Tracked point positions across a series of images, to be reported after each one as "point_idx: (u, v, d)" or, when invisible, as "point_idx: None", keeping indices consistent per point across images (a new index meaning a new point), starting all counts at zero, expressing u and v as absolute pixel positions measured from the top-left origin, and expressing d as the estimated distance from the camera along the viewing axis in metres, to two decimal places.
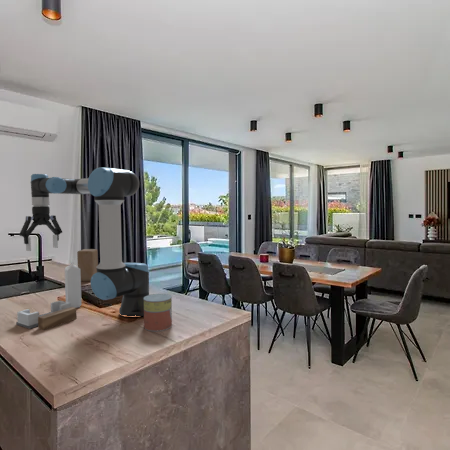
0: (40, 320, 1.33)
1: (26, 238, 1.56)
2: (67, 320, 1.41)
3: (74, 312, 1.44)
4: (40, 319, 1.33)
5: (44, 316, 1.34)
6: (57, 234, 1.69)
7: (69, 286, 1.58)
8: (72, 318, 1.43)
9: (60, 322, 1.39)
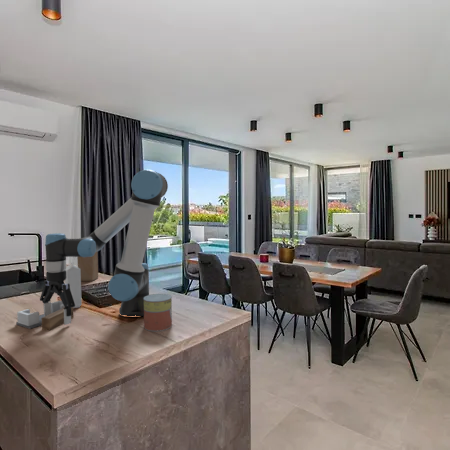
0: (45, 321, 1.32)
1: (44, 304, 1.43)
2: None
3: (71, 311, 1.45)
4: (45, 320, 1.32)
5: (48, 317, 1.33)
6: None
7: None
8: None
9: (61, 322, 1.39)
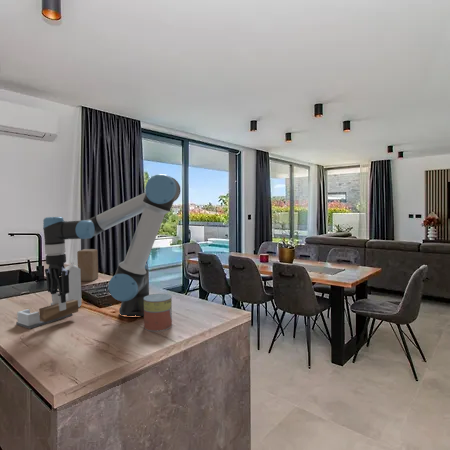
0: (41, 312, 1.33)
1: (52, 295, 1.40)
2: (69, 312, 1.41)
3: (75, 304, 1.44)
4: (41, 311, 1.33)
5: (45, 308, 1.34)
6: None
7: (69, 286, 1.58)
8: (74, 310, 1.43)
9: (61, 314, 1.38)
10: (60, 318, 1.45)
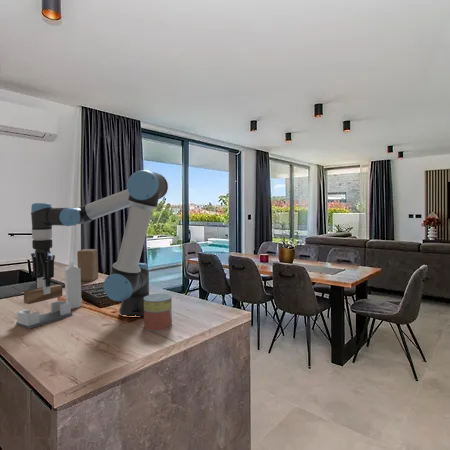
0: (26, 294, 1.37)
1: None
2: (53, 296, 1.45)
3: (60, 289, 1.48)
4: (25, 293, 1.37)
5: (29, 290, 1.38)
6: None
7: (69, 286, 1.58)
8: (58, 295, 1.47)
9: (45, 297, 1.42)
10: (60, 318, 1.45)
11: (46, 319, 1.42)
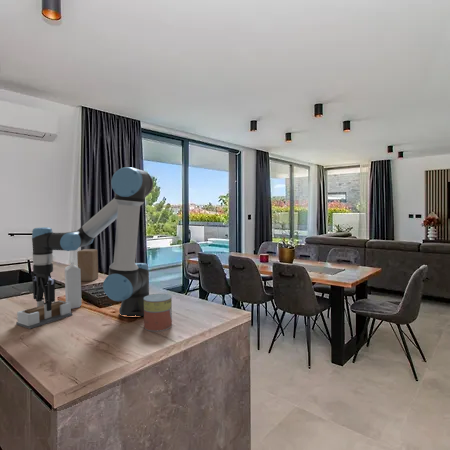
0: None
1: None
2: (54, 314, 1.46)
3: None
4: (26, 312, 1.37)
5: (30, 310, 1.38)
6: None
7: (69, 286, 1.58)
8: (59, 312, 1.48)
9: None
10: (60, 318, 1.45)
11: (46, 319, 1.42)
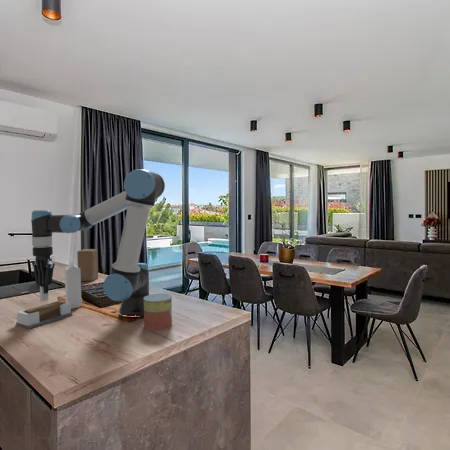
0: None
1: (40, 286, 1.43)
2: (54, 314, 1.46)
3: None
4: (26, 312, 1.37)
5: (30, 310, 1.38)
6: (42, 285, 1.42)
7: (69, 286, 1.58)
8: (59, 312, 1.48)
9: (46, 316, 1.43)
10: (60, 318, 1.45)
11: (46, 319, 1.42)
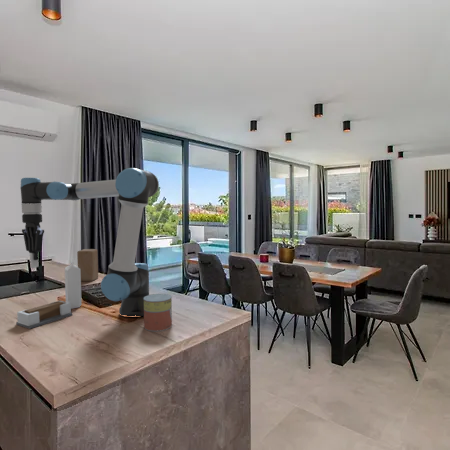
0: None
1: (30, 253, 1.46)
2: (54, 314, 1.46)
3: None
4: (26, 312, 1.37)
5: (30, 310, 1.38)
6: (32, 251, 1.44)
7: (69, 286, 1.58)
8: (59, 312, 1.48)
9: (46, 316, 1.43)
10: (60, 318, 1.45)
11: (46, 319, 1.42)
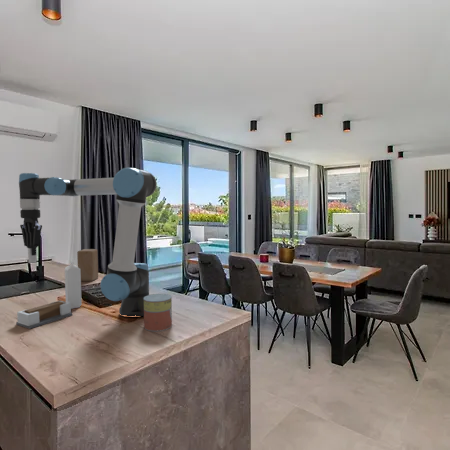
0: None
1: None
2: (54, 314, 1.46)
3: None
4: (26, 312, 1.37)
5: (30, 310, 1.38)
6: (30, 247, 1.45)
7: (69, 286, 1.58)
8: (59, 312, 1.48)
9: (46, 316, 1.43)
10: (60, 318, 1.45)
11: (46, 319, 1.42)
